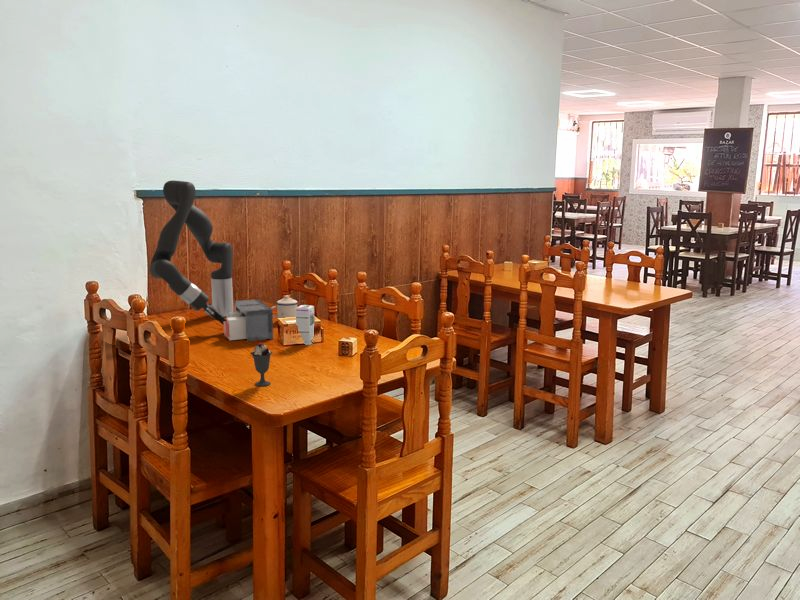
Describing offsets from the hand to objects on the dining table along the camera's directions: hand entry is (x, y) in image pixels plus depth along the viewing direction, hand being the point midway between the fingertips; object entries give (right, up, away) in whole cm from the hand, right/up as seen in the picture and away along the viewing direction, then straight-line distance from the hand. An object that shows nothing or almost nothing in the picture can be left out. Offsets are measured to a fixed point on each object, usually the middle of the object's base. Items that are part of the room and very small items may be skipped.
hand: (226, 323), depth 264 cm
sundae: (+28, -17, -62) cm, 70 cm away
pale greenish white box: (+5, -3, +3) cm, 7 cm away
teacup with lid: (+20, 0, +21) cm, 29 cm away
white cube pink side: (+7, -6, -8) cm, 12 cm away
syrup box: (+34, -7, -13) cm, 37 cm away
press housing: (+11, -4, 0) cm, 12 cm away
